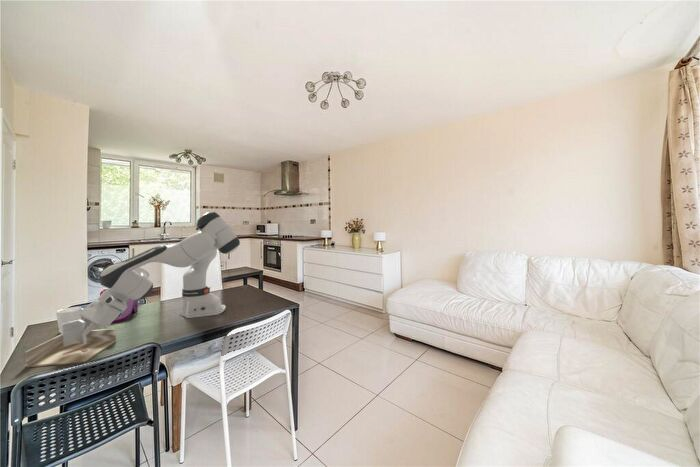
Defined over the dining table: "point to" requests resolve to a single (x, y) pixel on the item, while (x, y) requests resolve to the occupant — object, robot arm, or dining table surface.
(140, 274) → the robot arm
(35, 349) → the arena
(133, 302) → the mounting bracket
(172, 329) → the dining table surface
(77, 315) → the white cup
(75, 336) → the angle bracket
